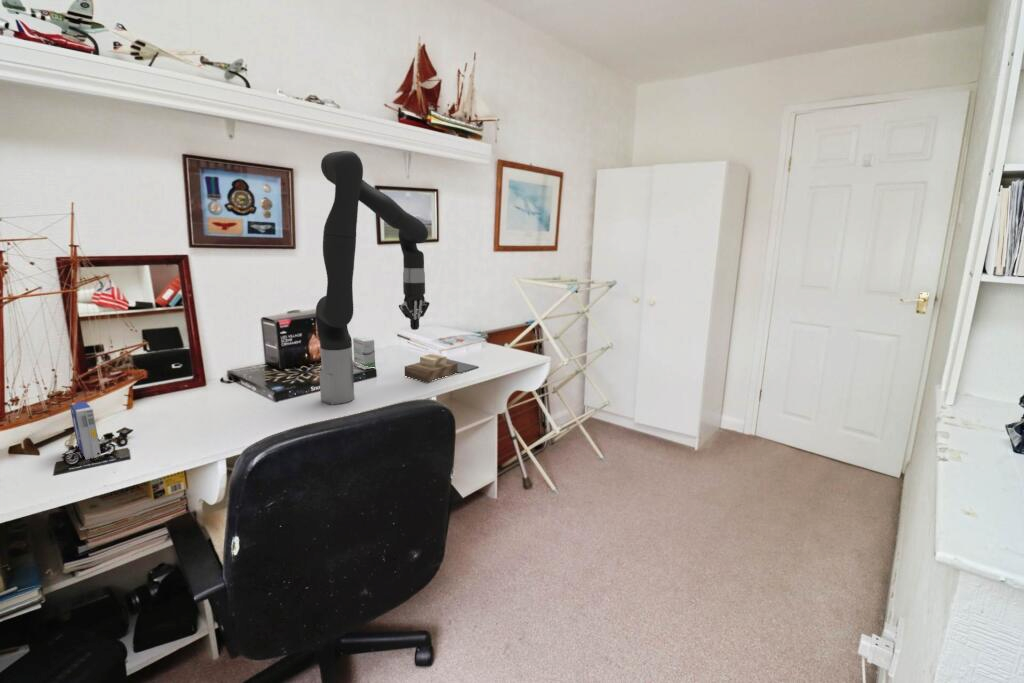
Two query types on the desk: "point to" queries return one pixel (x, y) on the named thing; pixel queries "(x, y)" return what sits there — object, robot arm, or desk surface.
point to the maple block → (433, 360)
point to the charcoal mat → (463, 366)
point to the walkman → (85, 429)
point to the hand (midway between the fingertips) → (414, 329)
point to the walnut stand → (430, 371)
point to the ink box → (364, 351)
